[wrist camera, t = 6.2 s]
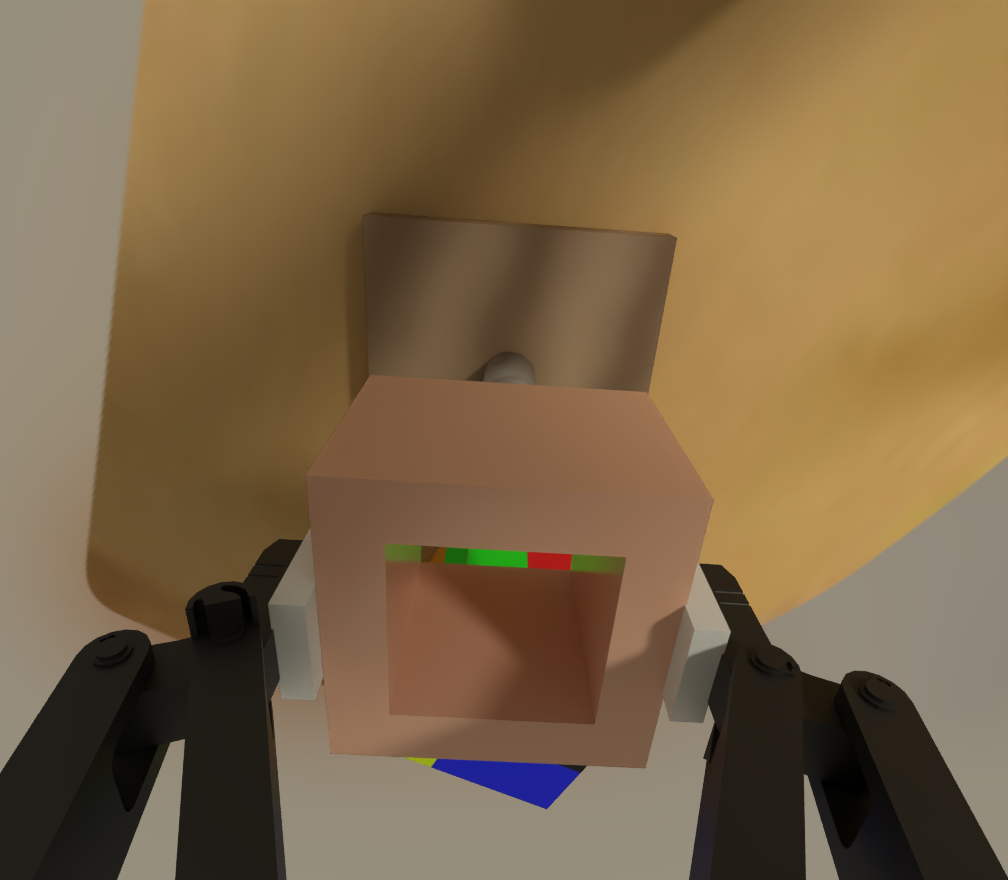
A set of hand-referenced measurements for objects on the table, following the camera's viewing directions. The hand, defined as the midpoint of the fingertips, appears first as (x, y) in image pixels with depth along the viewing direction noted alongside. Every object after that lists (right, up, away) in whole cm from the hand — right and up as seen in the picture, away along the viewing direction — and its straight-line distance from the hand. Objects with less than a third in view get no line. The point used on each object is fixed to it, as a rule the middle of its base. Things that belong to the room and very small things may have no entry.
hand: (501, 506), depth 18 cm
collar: (0, 0, 0) cm, 0 cm away
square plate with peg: (0, +6, +12) cm, 13 cm away
